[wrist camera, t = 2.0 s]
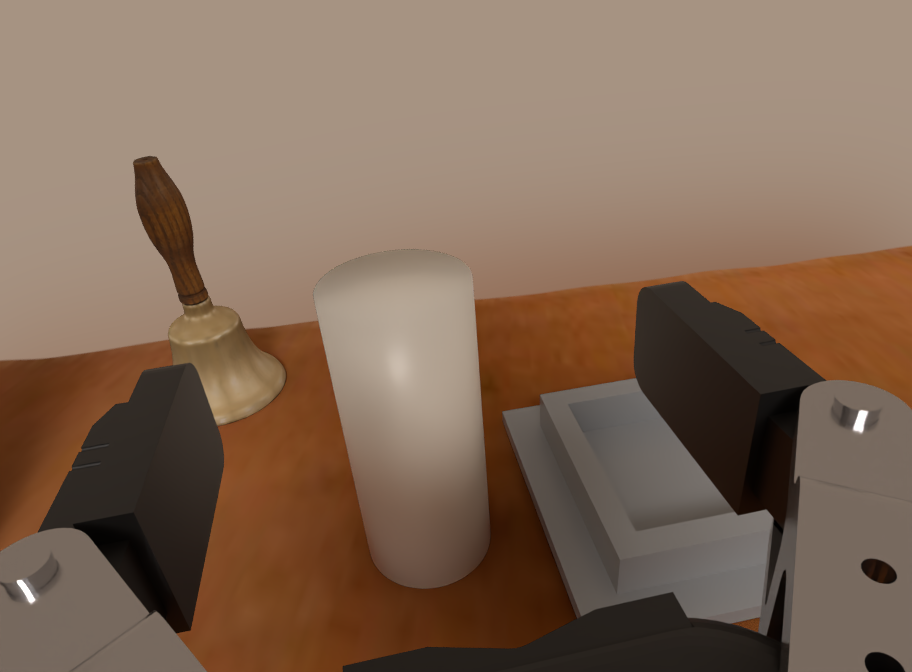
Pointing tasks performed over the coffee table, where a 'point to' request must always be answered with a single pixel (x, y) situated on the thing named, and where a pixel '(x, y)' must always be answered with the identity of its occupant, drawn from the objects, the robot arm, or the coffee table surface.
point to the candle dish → (634, 507)
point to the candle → (410, 409)
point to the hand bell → (203, 309)
